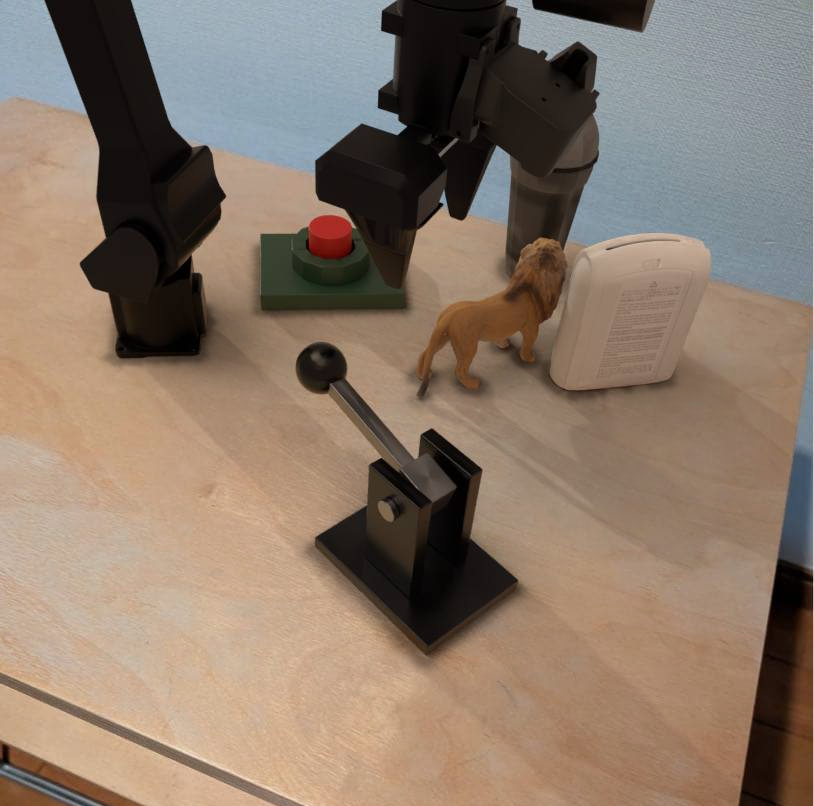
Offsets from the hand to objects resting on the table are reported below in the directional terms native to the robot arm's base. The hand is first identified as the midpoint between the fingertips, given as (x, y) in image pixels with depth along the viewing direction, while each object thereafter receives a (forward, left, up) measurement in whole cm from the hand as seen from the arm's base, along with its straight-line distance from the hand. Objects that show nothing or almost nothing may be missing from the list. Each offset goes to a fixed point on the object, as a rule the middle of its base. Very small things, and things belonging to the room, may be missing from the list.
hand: (427, 250), depth 59 cm
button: (-6, +16, -10) cm, 20 cm away
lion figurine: (+6, +5, -14) cm, 16 cm away
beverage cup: (+12, +17, -14) cm, 25 cm away
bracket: (-2, -16, -14) cm, 21 cm away
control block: (-6, +16, -14) cm, 22 cm away
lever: (-5, -11, -6) cm, 14 cm away
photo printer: (+16, +3, -14) cm, 22 cm away
